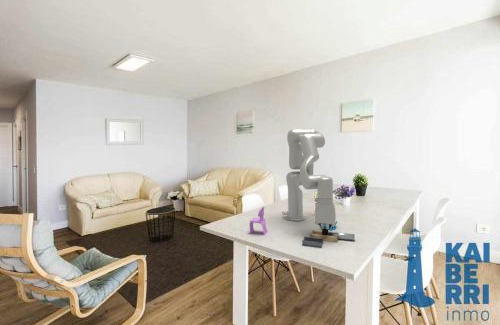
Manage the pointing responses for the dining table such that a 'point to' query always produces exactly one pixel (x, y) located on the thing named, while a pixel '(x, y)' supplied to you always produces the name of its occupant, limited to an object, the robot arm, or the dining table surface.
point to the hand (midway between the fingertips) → (325, 236)
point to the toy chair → (259, 221)
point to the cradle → (312, 242)
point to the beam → (323, 236)
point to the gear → (331, 226)
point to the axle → (343, 236)
